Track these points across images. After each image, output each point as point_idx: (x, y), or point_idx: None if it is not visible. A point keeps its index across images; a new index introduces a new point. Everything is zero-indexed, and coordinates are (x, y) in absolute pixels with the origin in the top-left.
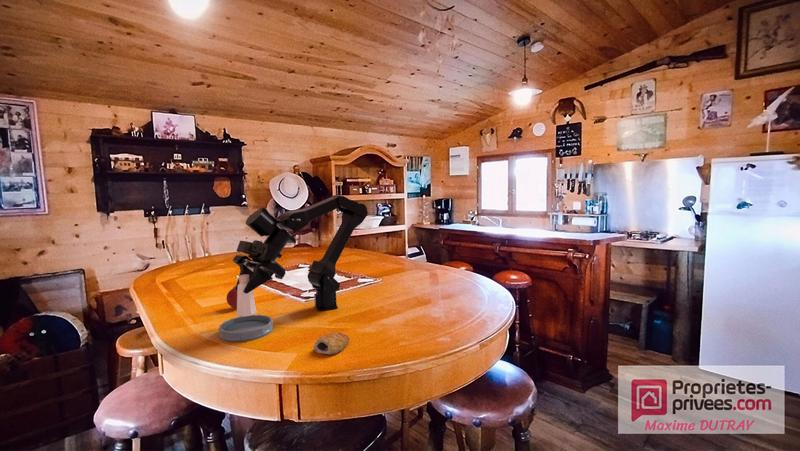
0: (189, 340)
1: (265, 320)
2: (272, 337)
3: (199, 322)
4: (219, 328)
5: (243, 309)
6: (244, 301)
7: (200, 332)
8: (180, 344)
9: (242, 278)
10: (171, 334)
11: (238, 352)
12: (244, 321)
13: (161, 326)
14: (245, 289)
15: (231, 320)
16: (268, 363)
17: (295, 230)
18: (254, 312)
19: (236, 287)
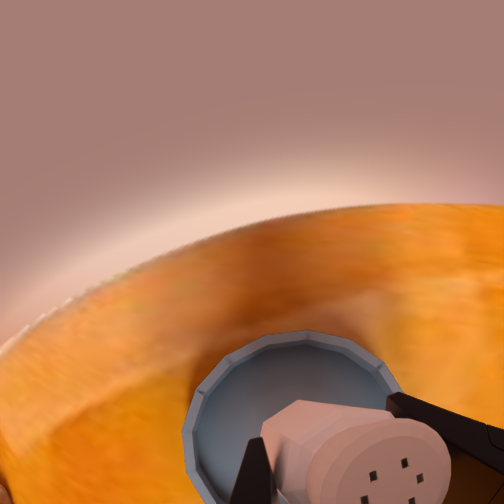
0: (340, 255)
1: None
2: (164, 487)
3: (486, 302)
4: (309, 331)
5: (267, 426)
6: (270, 437)
7: (397, 293)
8: (321, 231)
9: (326, 458)
10: (419, 224)
11: (122, 351)
12: None
13: (484, 216)
14: (244, 453)
15: (391, 393)
16: (15, 374)
17: None
18: None
19: (397, 402)
